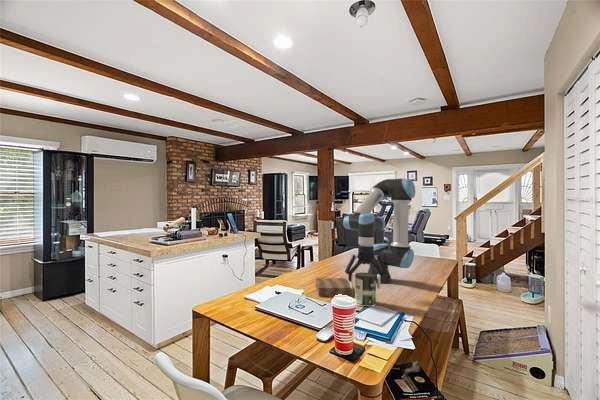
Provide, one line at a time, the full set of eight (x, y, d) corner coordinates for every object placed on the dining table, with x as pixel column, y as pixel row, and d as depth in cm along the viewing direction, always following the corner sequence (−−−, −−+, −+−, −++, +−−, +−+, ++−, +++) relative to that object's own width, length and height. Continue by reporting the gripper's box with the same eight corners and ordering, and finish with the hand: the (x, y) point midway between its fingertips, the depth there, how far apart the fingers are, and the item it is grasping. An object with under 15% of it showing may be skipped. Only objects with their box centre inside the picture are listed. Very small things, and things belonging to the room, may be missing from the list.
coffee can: (378, 302, 142) (378, 274, 142) (372, 308, 133) (372, 279, 133) (358, 298, 147) (359, 271, 147) (351, 304, 138) (351, 275, 138)
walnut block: (345, 285, 168) (345, 278, 168) (352, 296, 150) (352, 287, 150) (315, 285, 167) (315, 278, 167) (318, 296, 149) (319, 287, 149)
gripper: (387, 244, 144) (387, 285, 144) (339, 243, 143) (338, 285, 143) (393, 246, 137) (392, 290, 137) (342, 245, 136) (341, 290, 136)
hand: (365, 287), depth 140 cm, fingers open, 13 cm apart
